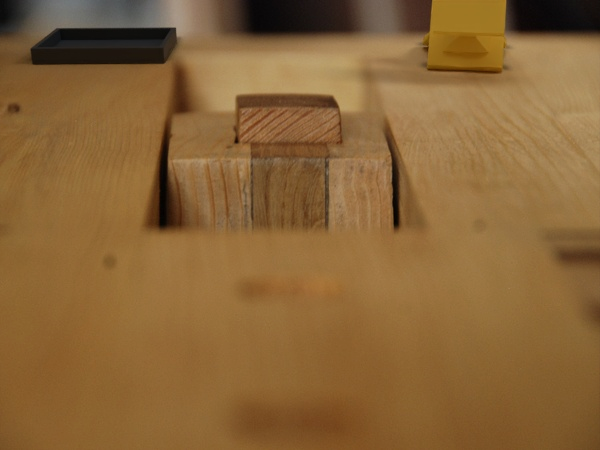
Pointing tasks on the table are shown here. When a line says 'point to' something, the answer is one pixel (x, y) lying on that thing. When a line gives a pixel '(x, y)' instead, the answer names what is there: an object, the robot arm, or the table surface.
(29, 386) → the table surface
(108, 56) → the tray
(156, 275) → the table surface
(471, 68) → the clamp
